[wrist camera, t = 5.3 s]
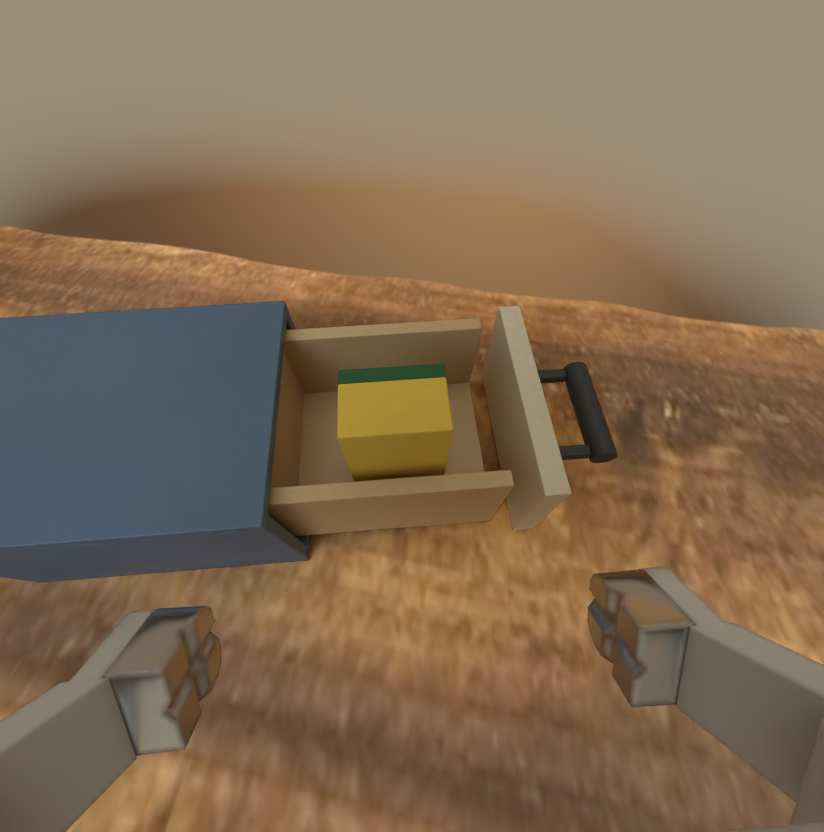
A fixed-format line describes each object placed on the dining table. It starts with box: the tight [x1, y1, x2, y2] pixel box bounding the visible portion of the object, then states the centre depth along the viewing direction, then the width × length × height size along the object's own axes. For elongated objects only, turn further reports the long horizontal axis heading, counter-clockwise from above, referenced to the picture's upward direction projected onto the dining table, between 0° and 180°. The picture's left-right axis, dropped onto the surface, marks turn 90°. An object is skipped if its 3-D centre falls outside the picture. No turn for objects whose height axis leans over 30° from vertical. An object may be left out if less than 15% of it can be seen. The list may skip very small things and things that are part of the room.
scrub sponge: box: [337, 363, 453, 482], centre depth 20 cm, size 4×3×9 cm
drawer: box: [268, 306, 617, 536], centre depth 23 cm, size 19×11×7 cm, turn 94°
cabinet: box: [0, 301, 310, 582], centre depth 22 cm, size 15×12×8 cm
